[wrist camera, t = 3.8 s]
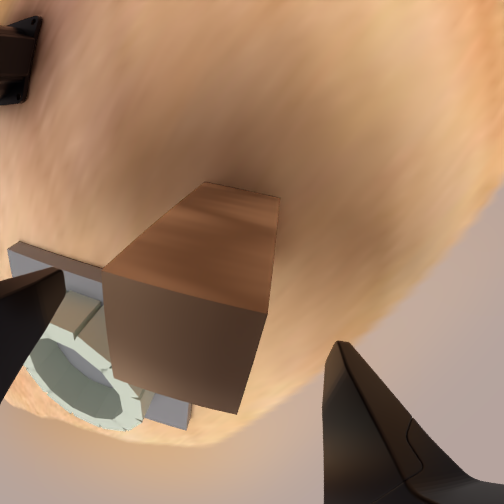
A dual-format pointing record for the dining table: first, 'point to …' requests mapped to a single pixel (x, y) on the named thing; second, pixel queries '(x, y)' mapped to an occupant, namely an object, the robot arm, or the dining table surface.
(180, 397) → the walnut peg
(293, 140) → the dining table surface
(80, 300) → the collar holder
